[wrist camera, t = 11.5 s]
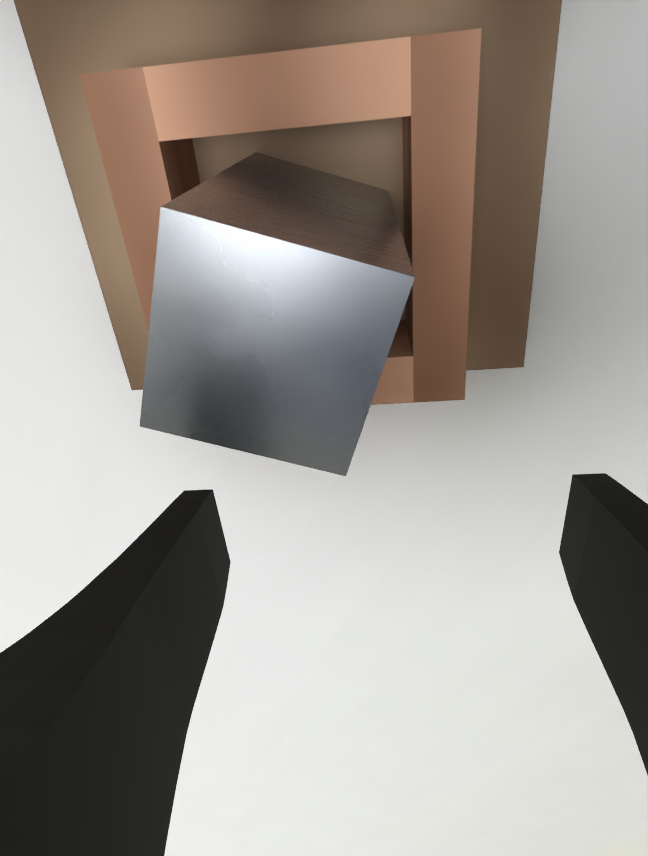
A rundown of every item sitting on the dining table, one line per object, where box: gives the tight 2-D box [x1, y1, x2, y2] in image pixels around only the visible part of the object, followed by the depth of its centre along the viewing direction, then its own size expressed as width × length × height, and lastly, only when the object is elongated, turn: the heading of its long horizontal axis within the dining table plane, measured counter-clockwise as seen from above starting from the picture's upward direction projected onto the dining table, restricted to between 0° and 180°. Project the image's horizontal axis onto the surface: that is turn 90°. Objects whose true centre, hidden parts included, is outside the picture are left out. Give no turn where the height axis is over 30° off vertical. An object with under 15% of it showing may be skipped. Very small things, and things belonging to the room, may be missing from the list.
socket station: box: [14, 0, 562, 405], centre depth 12 cm, size 14×16×11 cm
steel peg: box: [140, 152, 415, 476], centre depth 13 cm, size 4×4×9 cm
